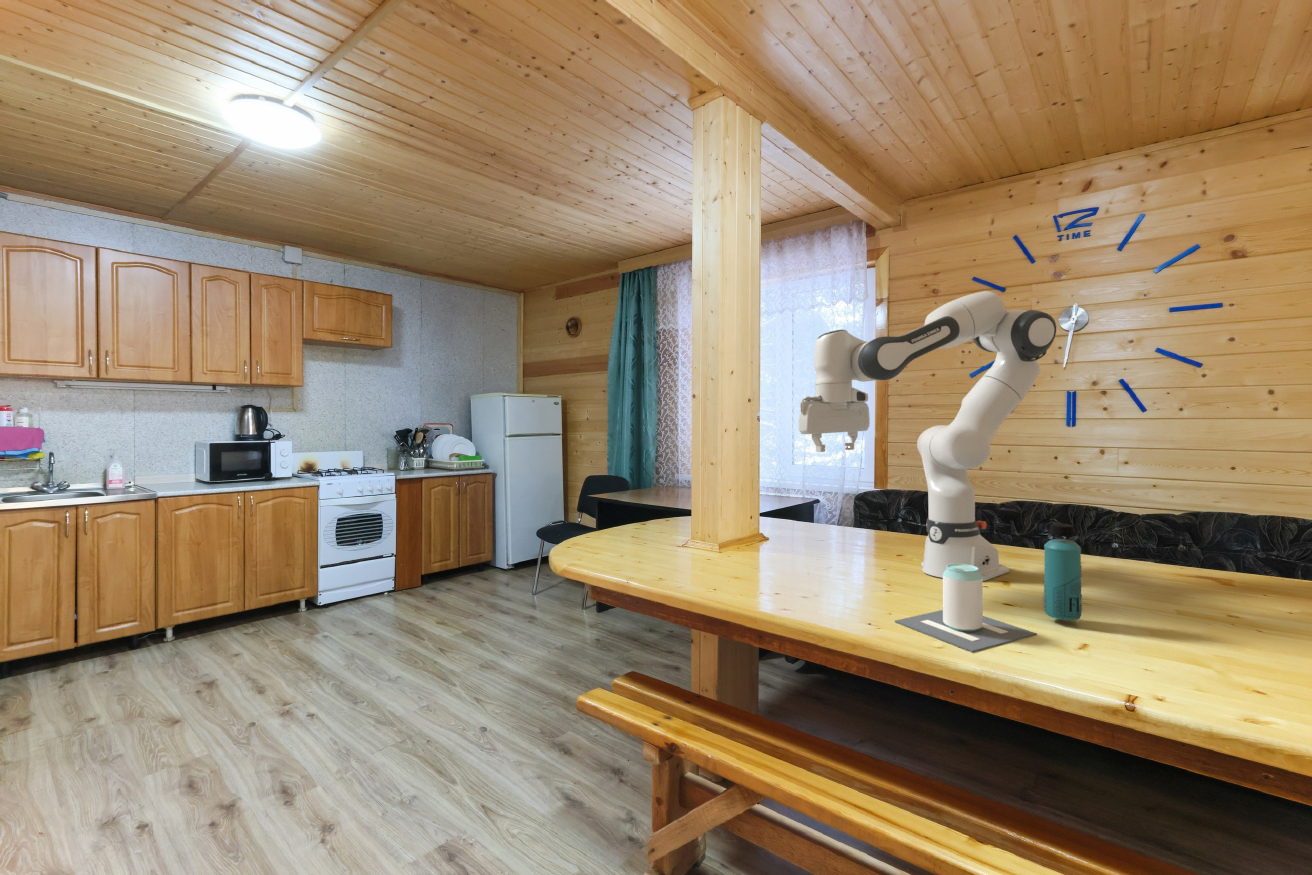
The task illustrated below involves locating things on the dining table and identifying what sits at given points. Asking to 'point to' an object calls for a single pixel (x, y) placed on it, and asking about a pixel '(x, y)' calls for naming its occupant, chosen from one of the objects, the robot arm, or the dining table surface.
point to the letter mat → (970, 641)
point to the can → (963, 597)
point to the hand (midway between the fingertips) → (835, 450)
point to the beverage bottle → (1062, 575)
